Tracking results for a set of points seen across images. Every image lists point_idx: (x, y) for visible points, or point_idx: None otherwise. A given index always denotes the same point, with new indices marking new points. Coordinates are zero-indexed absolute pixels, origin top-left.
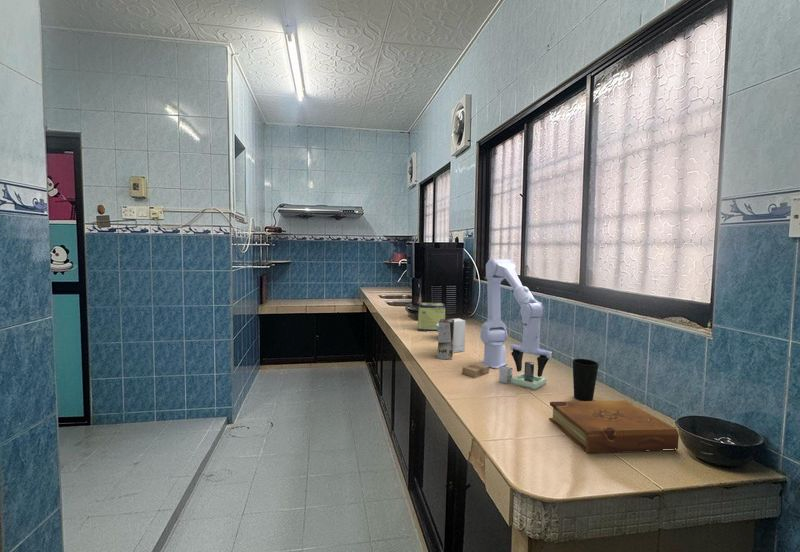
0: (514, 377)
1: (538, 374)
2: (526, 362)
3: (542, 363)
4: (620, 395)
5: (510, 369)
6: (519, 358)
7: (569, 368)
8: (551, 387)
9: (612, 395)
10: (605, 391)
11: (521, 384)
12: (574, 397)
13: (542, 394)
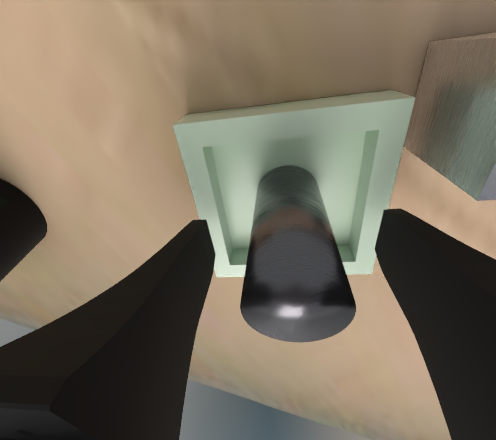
0: (393, 141)
1: (191, 227)
2: (337, 308)
3: (60, 318)
4: (17, 316)
5: (493, 148)
6: (468, 342)
7: (264, 401)
8: (175, 231)
9: (20, 303)
10: None
11: (300, 103)
12: (15, 187)
13: (105, 71)
